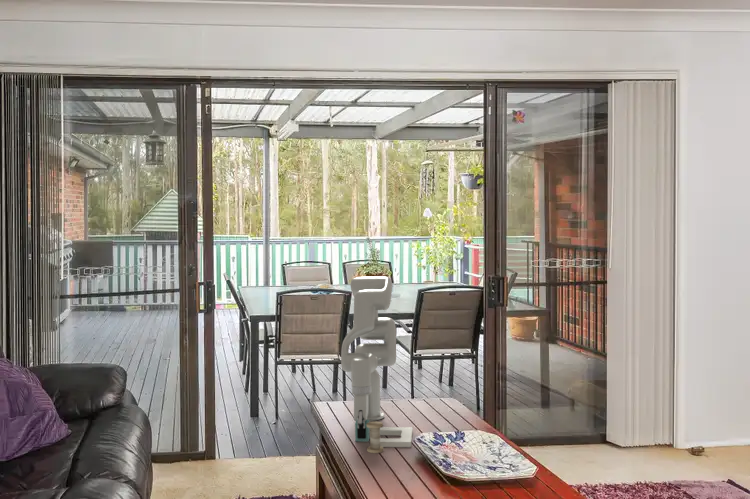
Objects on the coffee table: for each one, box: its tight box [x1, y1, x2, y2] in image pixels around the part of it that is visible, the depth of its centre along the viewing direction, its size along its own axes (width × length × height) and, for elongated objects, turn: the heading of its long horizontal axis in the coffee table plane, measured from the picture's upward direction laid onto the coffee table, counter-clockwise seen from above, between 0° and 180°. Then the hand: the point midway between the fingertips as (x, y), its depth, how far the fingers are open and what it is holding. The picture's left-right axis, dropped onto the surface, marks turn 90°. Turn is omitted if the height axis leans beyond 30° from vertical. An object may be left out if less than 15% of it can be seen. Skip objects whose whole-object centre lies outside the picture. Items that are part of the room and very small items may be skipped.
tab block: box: [354, 419, 370, 442], centre depth 293 cm, size 5×5×7 cm
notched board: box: [380, 426, 414, 448], centre depth 292 cm, size 18×14×2 cm
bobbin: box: [366, 420, 384, 454], centre depth 279 cm, size 6×6×10 cm
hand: (362, 435), depth 293 cm, fingers closed on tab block, 4 cm apart
